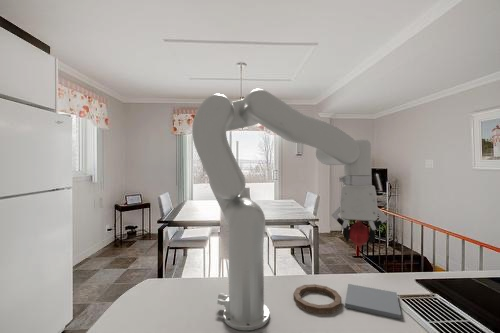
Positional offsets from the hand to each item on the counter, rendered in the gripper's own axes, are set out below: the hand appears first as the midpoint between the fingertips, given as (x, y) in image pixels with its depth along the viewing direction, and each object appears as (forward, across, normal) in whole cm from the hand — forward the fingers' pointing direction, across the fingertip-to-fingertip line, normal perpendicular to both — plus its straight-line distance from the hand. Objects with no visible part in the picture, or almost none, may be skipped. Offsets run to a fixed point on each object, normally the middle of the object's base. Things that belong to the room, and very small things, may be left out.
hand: (359, 240), depth 76 cm
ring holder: (+18, -12, -5) cm, 22 cm away
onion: (+2, 0, 0) cm, 2 cm away
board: (+18, +3, +1) cm, 19 cm away
